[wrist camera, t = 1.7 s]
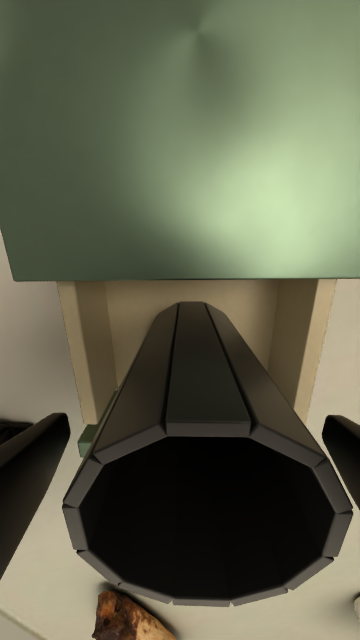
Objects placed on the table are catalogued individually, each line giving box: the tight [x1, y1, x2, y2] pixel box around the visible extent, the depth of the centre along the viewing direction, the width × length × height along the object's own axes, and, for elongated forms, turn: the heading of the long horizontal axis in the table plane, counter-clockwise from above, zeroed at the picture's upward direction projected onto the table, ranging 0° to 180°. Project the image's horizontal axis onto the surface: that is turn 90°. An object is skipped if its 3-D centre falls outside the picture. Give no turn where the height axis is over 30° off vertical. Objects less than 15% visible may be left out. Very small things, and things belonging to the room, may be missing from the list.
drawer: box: [57, 279, 337, 458], centre depth 12 cm, size 17×13×5 cm
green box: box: [0, 0, 360, 282], centre depth 9 cm, size 14×14×6 cm
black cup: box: [62, 301, 353, 607], centre depth 9 cm, size 6×6×10 cm
